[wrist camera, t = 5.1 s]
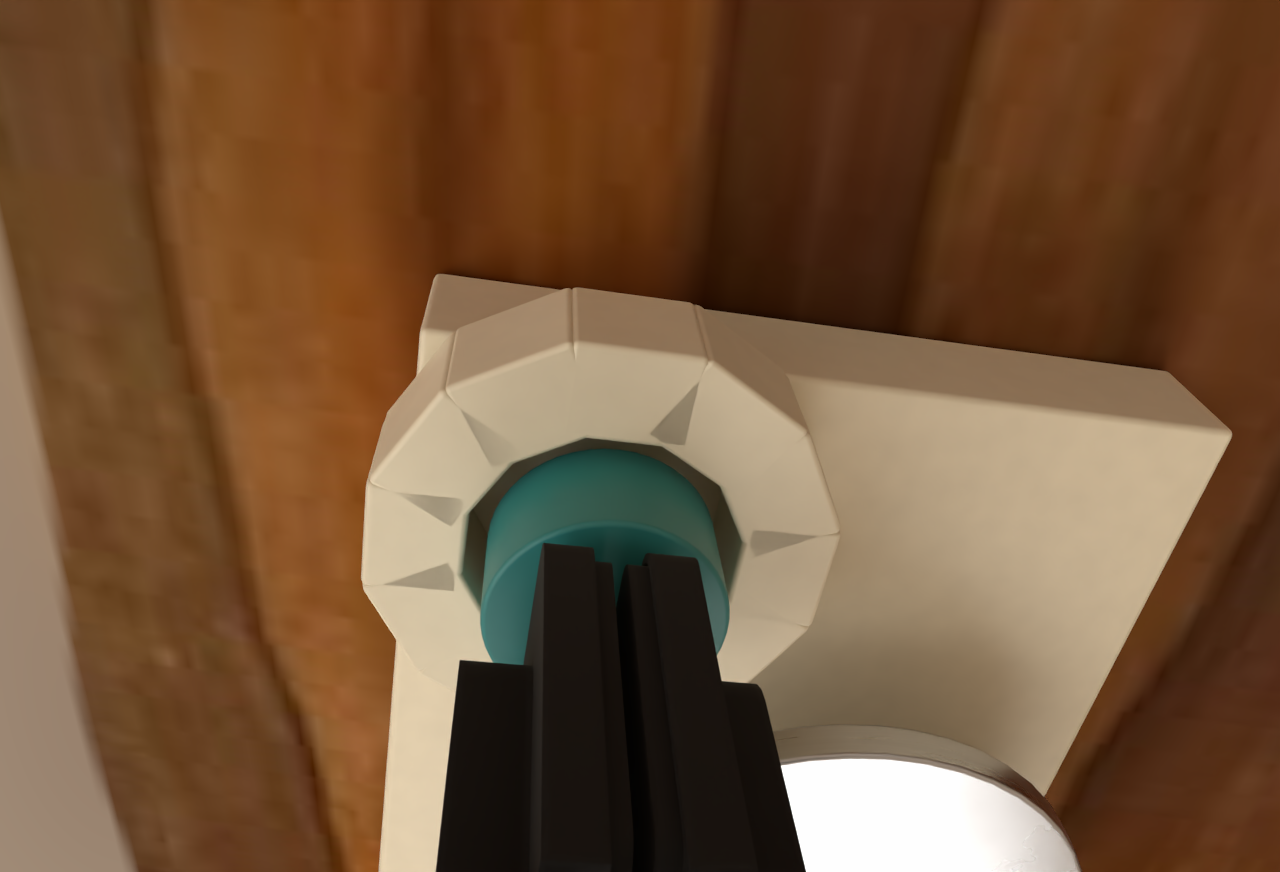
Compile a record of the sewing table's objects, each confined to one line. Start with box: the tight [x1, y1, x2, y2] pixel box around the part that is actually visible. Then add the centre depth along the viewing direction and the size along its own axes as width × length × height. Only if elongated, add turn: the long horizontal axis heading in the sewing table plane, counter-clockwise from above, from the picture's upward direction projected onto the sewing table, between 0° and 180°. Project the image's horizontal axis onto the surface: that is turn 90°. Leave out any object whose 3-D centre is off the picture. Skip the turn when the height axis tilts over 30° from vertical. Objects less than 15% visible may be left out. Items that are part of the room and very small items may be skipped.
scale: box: [361, 274, 1232, 872], centre depth 17 cm, size 14×11×4 cm
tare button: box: [480, 448, 730, 665], centre depth 13 cm, size 3×3×2 cm
